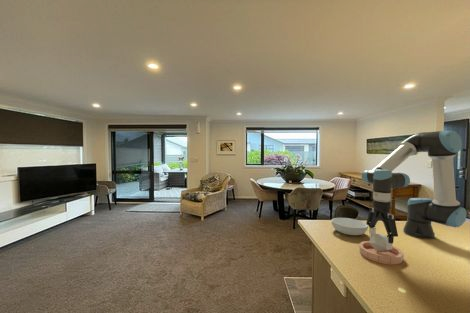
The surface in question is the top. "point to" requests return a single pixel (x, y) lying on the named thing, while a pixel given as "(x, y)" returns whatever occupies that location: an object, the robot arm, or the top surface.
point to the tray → (381, 254)
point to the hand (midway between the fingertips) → (380, 244)
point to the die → (378, 242)
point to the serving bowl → (349, 226)
